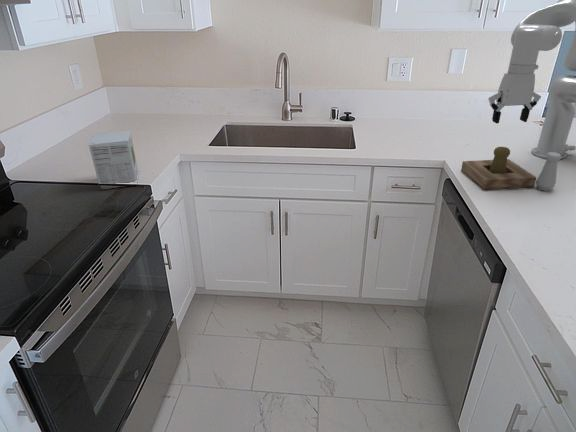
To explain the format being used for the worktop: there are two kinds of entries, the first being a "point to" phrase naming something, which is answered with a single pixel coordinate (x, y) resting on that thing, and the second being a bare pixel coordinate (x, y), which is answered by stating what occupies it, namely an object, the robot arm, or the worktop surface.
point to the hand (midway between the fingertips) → (509, 121)
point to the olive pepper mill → (499, 160)
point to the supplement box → (114, 157)
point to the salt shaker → (548, 172)
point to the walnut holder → (498, 175)
